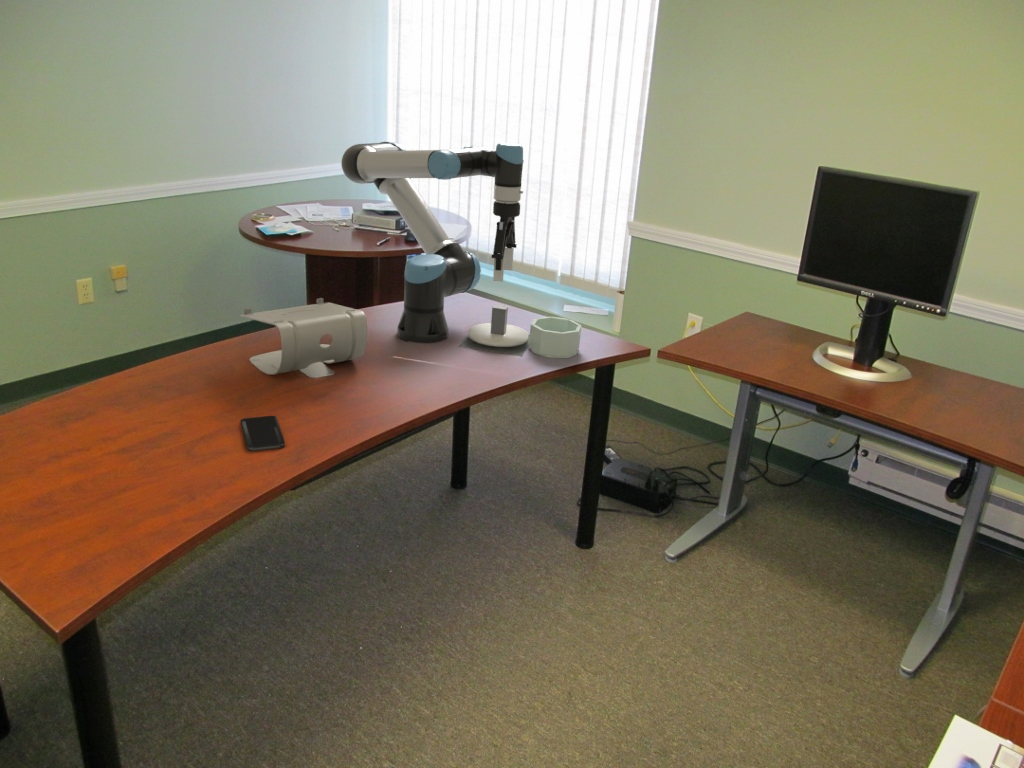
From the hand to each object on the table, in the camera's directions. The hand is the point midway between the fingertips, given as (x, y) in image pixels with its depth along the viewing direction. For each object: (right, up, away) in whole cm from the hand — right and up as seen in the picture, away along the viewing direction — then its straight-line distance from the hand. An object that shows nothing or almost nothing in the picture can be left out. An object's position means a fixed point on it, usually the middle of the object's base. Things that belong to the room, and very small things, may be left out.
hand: (503, 275), depth 236 cm
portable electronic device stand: (-52, -26, -20) cm, 61 cm away
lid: (-2, -19, +7) cm, 20 cm away
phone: (-52, -43, -58) cm, 89 cm away
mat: (-2, -19, +7) cm, 20 cm away
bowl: (+15, -22, +4) cm, 26 cm away
